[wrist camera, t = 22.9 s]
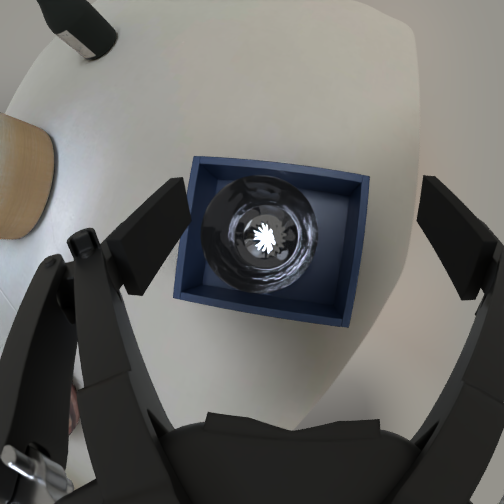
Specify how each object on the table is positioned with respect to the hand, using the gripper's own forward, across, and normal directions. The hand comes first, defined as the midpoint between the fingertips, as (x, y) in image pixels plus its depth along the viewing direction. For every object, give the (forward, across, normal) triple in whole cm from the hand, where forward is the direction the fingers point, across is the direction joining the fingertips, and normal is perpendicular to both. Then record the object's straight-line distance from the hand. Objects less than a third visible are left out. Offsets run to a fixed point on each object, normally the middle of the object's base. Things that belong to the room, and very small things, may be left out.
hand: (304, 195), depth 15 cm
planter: (+21, -51, -2) cm, 56 cm away
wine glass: (+15, -4, -12) cm, 19 cm away
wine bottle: (+36, -36, +21) cm, 55 cm away
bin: (+16, -4, -12) cm, 20 cm away
